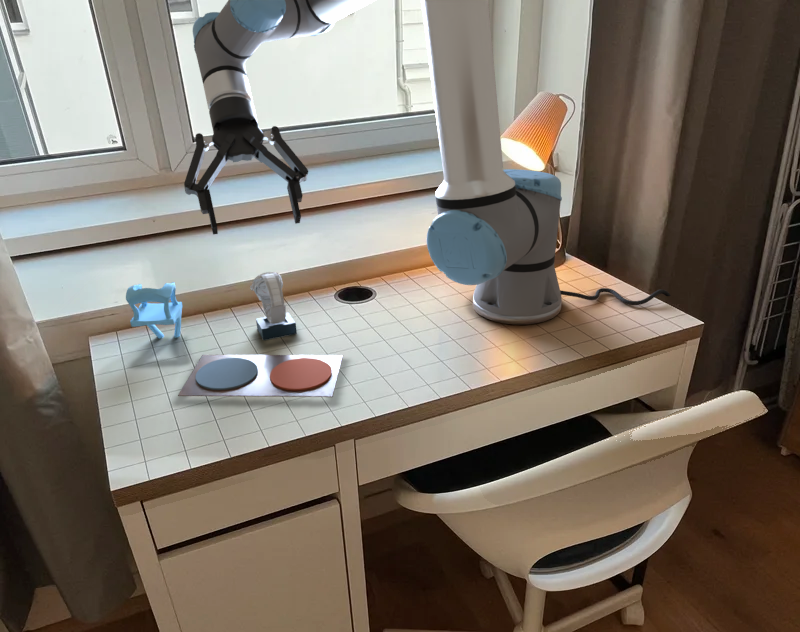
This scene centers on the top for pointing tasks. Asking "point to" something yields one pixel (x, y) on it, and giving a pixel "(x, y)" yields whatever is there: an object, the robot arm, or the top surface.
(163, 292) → the chair
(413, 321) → the top surface
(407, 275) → the top surface
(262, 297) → the watch
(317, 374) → the terracotta pad
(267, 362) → the desk board
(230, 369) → the slate pad
